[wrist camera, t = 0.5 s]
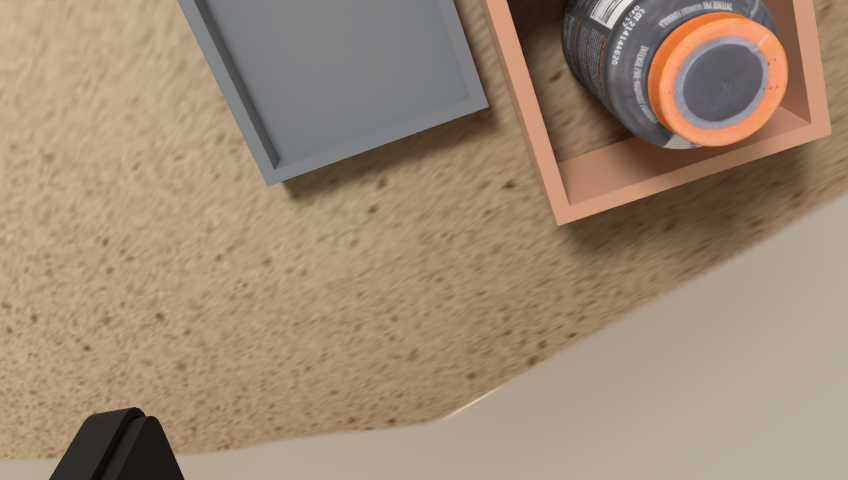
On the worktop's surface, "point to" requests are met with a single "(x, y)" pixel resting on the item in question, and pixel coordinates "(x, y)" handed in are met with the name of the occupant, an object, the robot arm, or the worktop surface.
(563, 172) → the frame
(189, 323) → the worktop surface
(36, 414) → the worktop surface
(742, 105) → the pill bottle
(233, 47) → the charcoal tray
